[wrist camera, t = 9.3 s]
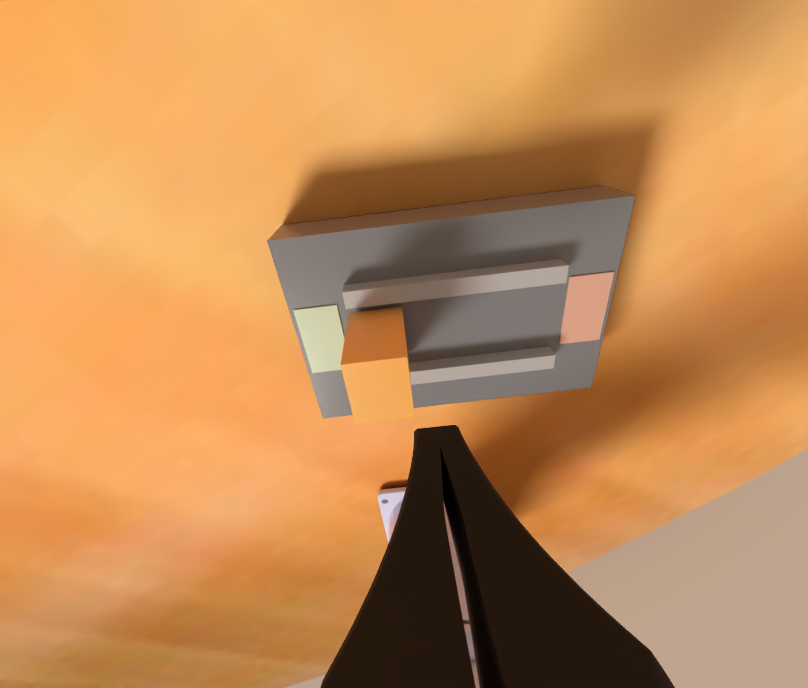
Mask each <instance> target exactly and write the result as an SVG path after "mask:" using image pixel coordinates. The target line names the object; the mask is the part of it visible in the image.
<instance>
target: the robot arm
mask: <svg viewBox="0 0 808 688" xmlns="http://www.w3.org/2000/svg"><path fill="white" fill-rule="evenodd" d="M378 502H379V506H380V510H381V514H382V518H383V522H384V527H385V531H386V535H387V539H388V543H389V544H388V547H387V549H386V552H385V554H384V557H383V559H382V562H381V564H380V567H379V569H378V571H377V574H376V576H375V578H374V581H373V583H372V585H371V588H370V590H369V592H368V594H367V596H366V598H365V600H364V602H363V604H362V606H361V609H360V611H359V613H358V615H357V617H356V619H355V621H354V623H353V625H352V627H351V629H350V631H349V633H348V635H347V637H346V639H345V641H344V642H343V644H342V646H341V648H340V650H339V652H338V653H337V655H336V657H335V659H334V661H333V663H332V664H331V666H330V668H329V670H328V672H327V674H326V675H325V677H324V679H323V682H322V685H321V688H675V687H674V686H673V684H672V682H671V681H670V679H669V678H668V676H667V674H666V673H665V671H664V670H663V668H662V667H661V665H660V664H659V662H658V661H657V659H656V658H655V656H654V655H653V654H652V652H651V651H650V650H649V649H648V648H647V647H646V646H645V645H643V644H642V643H641V642H640V641H639V640H638V639H637V638H636V637H634V636H633V635H632V634H631V633H630V632H629V631H627V630H626V629H625V628H624V627H623V626H622V625H620V623H618V622H617V621H616V620H615V619H614V618H613V617H612V616H611V615H609V614H608V613H607V612H606V611H605V610H604V609H603V608H602V607H601V606H600V605H599V604H597V602H595V601H594V600H593V599H592V598H591V597H590V596H589V595H588V594H587V593H586V592H585V591H584V590H583V589H582V588H581V587H580V586H579V585H578V584H577V583H576V582H575V581H574V580H573V579H572V578H571V577H570V576H569V575H568V574H567V573H566V572H565V571H564V570H563V569H562V568H561V567H560V566H559V565H558V564H557V563H556V562H555V561H554V560H553V559H552V558H551V557H550V556H549V555H548V553H547V552H546V551H545V550H544V549H543V548H542V547H541V546H540V545H539V543H538V542H537V541H536V540H535V539H534V538H533V537H532V536H531V534H530V533H529V532H528V531H527V530H526V529H525V527H524V526H523V525H522V524H521V523H520V521H519V520H518V519H517V518H516V516H515V515H514V514H513V513H512V511H511V510H510V509H509V508H508V506H507V505H506V504H505V502H504V501H503V500H502V498H501V497H500V496H499V494H498V493H497V491H496V490H495V489H494V487H493V486H492V484H491V483H490V481H489V480H488V478H487V477H486V475H485V474H484V472H483V471H482V469H481V468H480V466H479V465H478V463H477V462H476V460H475V458H474V457H473V455H472V453H471V451H470V450H469V448H468V446H467V444H466V442H465V440H464V438H463V436H462V434H461V432H460V430H459V427H457V426H456V425H449V426H440V427H430V428H421V429H417V430H416V431H414V449H413V457H412V463H411V468H410V473H409V477H408V482H407V486H406V487H400V488H391V489H383V490H380V491H379V492H378Z"/></svg>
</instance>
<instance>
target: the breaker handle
mask: <svg viewBox="0 0 808 688" xmlns="http://www.w3.org/2000/svg"><path fill="white" fill-rule="evenodd" d="M340 366H341V370H342V374H343V378H344V382H345V386H346V390H347V394H348V398H349V402H350V406H351V410H352V413H353V417H354V421H355V425H361V424H369V423H378V422H387V421H396V420H404V419H413V418H415V415H414V406H413V396H412V387H411V378H410V368H409V359H408V351H407V343H406V335H405V326H404V318H403V310H402V307H396V308H387V309H379V310H370V311H362V312H354V313H349V317H348V323H347V329H346V335H345V340H344V346H343V352H342V358H341V364H340Z"/></svg>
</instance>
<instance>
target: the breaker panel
mask: <svg viewBox="0 0 808 688" xmlns="http://www.w3.org/2000/svg"><path fill="white" fill-rule="evenodd" d="M634 199H635V195H632V194H628V193H625V192H622V191H619V190H615V189H612V188H609V187H605V186H597V187H588V188H580V189H572V190H564V191H556V192H548V193H540V194H532V195H524V196H515V197H507V198H499V199H491V200H483V201H475V202H467V203H459V204H450V205H442V206H434V207H426V208H418V209H410V210H402V211H394V212H385V213H377V214H369V215H361V216H353V217H345V218H337V219H329V220H320V221H312V222H304V223H296V224H288V225H282V226H281V227H280V228H279V229H278V230H277V231H276V232H275V233H274V234H273V235H272V236H271V237H270V238H269V239H268V240H267V242H268V245H269V248H270V251H271V254H272V258H273V261H274V264H275V267H276V270H277V273H278V277H279V280H280V283H281V286H282V289H283V293H284V296H285V299H286V302H287V305H288V308H289V312H290V315H291V318H292V321H293V324H294V327H295V331H296V334H297V337H298V340H299V343H300V347H301V350H302V353H303V356H304V359H305V362H306V366H307V369H308V372H309V375H310V378H311V382H312V385H313V388H314V391H315V394H316V397H317V401H318V404H319V407H320V410H321V413H322V416H323V418H330V417H339V416H347V415H353V413H352V410H351V406H350V402H349V398H348V394H347V390H346V386H345V382H344V378H343V374H342V370H341V366H340V364H341V358H342V352H343V346H344V340H345V335H346V329H347V323H348V317H349V313H354V312H362V311H370V310H379V309H387V308H396V307H402V310H403V318H404V326H405V335H406V343H407V351H408V359H409V368H410V378H411V387H412V396H413V406H414V408H417V407H426V406H434V405H443V404H452V403H460V402H469V401H478V400H487V399H495V398H504V397H513V396H521V395H530V394H539V393H548V392H556V391H565V390H574V389H582V388H591V387H592V383H593V379H594V374H595V370H596V366H597V361H598V357H599V353H600V348H601V344H602V339H603V335H604V331H605V326H606V322H607V317H608V313H609V309H610V304H611V300H612V296H613V291H614V287H615V282H616V278H617V274H618V269H619V265H620V260H621V256H622V252H623V247H624V243H625V239H626V234H627V230H628V225H629V221H630V217H631V212H632V208H633V203H634Z"/></svg>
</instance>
